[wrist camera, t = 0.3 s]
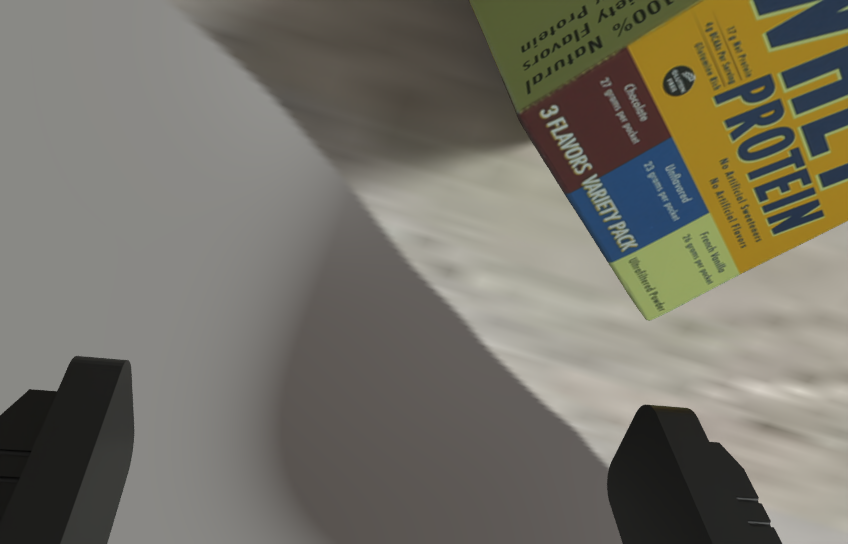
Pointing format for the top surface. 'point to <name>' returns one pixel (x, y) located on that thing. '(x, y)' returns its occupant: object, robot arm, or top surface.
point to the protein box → (683, 127)
